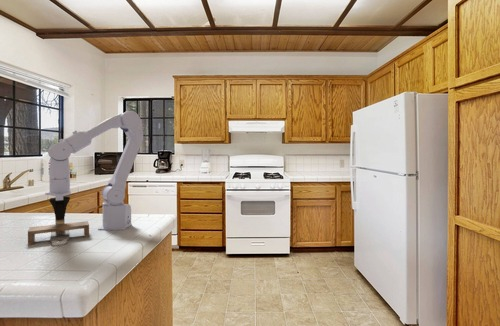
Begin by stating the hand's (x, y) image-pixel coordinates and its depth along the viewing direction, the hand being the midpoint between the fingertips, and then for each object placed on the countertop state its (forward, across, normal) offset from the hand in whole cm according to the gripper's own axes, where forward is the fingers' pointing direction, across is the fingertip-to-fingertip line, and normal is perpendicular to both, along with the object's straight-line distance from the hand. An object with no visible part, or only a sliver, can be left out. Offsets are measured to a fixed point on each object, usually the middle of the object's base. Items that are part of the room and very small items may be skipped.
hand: (60, 218), depth 96 cm
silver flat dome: (+6, +12, 0) cm, 13 cm away
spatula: (+5, +4, 0) cm, 7 cm away
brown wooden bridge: (+5, +5, 0) cm, 7 cm away
